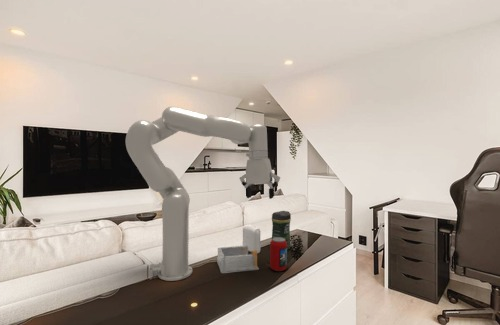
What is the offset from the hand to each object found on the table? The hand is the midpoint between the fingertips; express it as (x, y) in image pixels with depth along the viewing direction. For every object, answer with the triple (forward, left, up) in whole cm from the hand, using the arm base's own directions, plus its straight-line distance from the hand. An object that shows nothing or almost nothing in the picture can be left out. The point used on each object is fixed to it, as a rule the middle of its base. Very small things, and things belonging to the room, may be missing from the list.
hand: (260, 197), depth 104 cm
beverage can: (+7, -2, -29) cm, 30 cm away
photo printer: (+2, +21, -29) cm, 35 cm away
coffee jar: (+17, +20, -29) cm, 39 cm away
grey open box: (-8, +6, -28) cm, 30 cm away
